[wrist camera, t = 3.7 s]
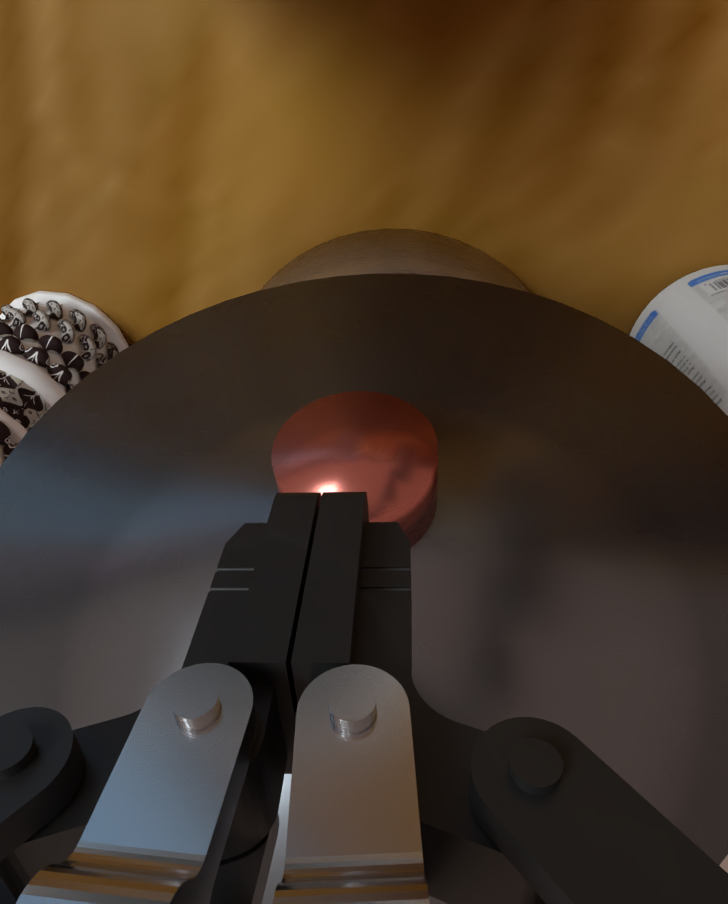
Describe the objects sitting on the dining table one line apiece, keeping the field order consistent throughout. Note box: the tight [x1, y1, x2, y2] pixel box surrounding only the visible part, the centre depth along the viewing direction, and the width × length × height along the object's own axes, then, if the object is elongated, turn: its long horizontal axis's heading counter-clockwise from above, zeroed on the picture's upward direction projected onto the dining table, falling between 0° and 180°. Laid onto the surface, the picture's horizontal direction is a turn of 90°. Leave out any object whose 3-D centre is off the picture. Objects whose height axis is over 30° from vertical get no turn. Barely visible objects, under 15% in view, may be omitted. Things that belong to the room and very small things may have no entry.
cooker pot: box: [261, 229, 530, 293], centre depth 36 cm, size 20×21×12 cm
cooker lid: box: [0, 274, 728, 904], centre depth 17 cm, size 21×24×3 cm
